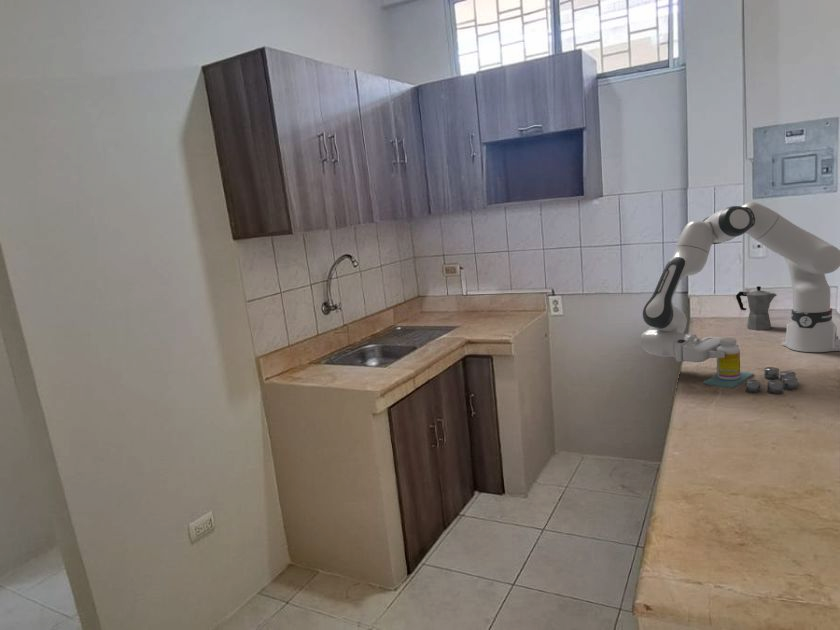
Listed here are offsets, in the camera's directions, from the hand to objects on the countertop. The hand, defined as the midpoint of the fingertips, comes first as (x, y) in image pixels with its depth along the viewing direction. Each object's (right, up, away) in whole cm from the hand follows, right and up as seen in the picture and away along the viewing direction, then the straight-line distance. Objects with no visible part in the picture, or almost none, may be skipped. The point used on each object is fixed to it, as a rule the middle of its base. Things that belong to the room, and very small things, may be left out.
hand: (731, 351), depth 181 cm
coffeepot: (+44, +6, +60) cm, 75 cm away
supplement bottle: (0, -9, +2) cm, 9 cm away
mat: (+1, -9, +2) cm, 10 cm away
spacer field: (+9, -10, -8) cm, 16 cm away
